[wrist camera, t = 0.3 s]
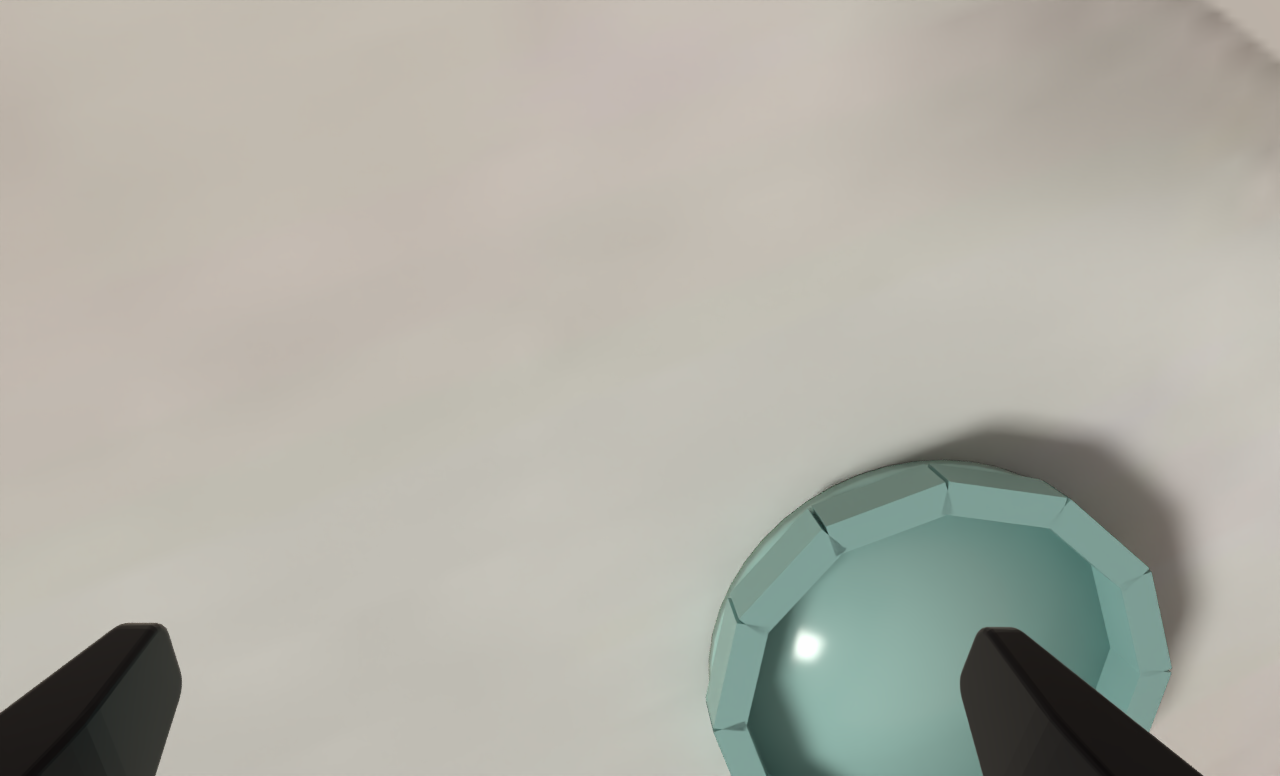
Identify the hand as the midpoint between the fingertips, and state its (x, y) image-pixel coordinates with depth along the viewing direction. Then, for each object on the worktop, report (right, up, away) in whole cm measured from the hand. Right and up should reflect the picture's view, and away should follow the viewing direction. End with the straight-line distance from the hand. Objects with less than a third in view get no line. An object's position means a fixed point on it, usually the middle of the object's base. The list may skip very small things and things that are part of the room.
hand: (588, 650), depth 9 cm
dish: (+10, -6, +18) cm, 22 cm away
